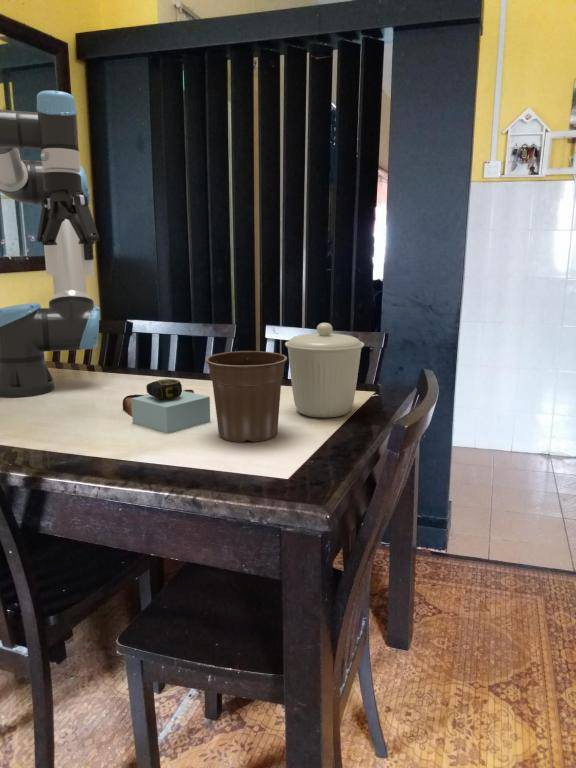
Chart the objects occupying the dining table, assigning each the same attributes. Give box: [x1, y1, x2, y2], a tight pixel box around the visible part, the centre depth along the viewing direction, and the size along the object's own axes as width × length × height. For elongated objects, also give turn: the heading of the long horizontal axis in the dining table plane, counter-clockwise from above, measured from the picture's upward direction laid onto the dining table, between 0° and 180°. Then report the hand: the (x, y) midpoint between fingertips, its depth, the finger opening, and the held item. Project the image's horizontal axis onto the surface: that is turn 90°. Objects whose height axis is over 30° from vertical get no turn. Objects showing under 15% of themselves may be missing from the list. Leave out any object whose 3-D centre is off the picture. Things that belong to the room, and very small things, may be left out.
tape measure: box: [146, 378, 183, 400], centre depth 129 cm, size 7×7×4 cm
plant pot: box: [205, 350, 288, 443], centre depth 121 cm, size 16×16×16 cm
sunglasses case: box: [122, 389, 195, 418], centre depth 143 cm, size 18×7×7 cm
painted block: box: [131, 390, 211, 435], centre depth 131 cm, size 12×12×6 cm
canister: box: [284, 322, 365, 419], centre depth 137 cm, size 18×18×21 cm
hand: (69, 275), depth 129 cm, fingers open, 13 cm apart
